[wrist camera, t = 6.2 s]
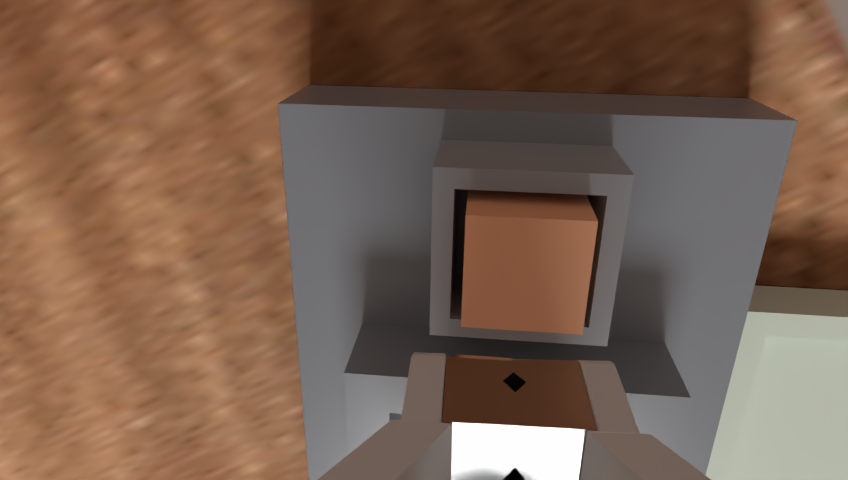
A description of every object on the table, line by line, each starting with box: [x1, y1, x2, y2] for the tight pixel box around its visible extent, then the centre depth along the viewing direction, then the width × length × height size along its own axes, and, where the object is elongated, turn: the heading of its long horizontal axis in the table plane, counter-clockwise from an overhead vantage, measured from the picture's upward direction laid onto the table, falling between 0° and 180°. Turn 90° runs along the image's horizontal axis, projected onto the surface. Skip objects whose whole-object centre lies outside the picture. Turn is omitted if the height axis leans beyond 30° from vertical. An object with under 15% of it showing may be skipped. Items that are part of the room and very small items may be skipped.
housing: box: [278, 85, 797, 480], centre depth 19 cm, size 13×18×6 cm
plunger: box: [461, 190, 598, 335], centre depth 15 cm, size 3×3×3 cm
